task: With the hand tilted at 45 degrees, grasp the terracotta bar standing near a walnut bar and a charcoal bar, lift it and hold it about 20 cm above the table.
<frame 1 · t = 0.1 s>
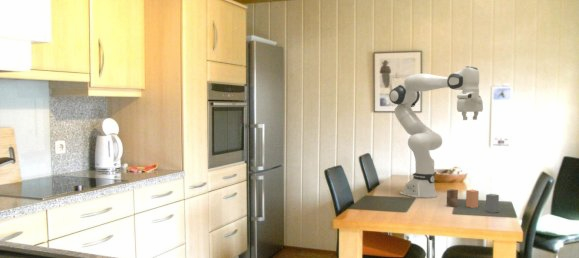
hand: (470, 119, 287), 48 cm above the table, tool pointing down, fingers open, 8 cm apart
walnut bar: (452, 206, 283), on the table
terracotta bar: (472, 206, 281), on the table
charcoal bar: (492, 211, 269), on the table
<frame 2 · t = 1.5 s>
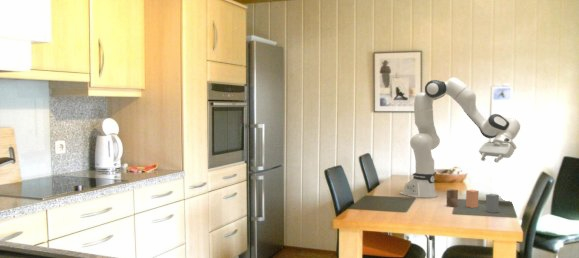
hand: (488, 160, 285), 25 cm above the table, tool tilted 45°, fingers open, 8 cm apart
nothing on the table moved.
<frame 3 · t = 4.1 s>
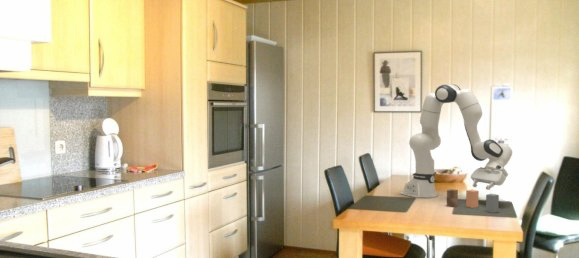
hand: (480, 187, 283), 10 cm above the table, tool tilted 45°, fingers open, 8 cm apart
nothing on the table moved.
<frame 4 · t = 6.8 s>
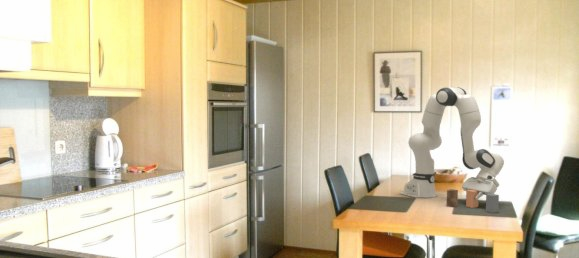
hand: (471, 198, 280), 5 cm above the table, tool tilted 45°, fingers closed on terracotta bar, 4 cm apart
terracotta bar: (472, 206, 281), on the table, touching gripper
everything else where it was.
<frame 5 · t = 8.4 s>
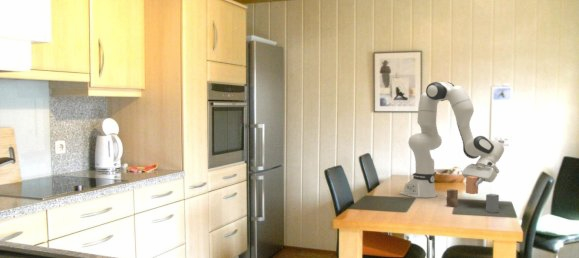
hand: (471, 184, 280), 12 cm above the table, tool tilted 45°, fingers closed on terracotta bar, 4 cm apart
terracotta bar: (471, 193, 281), point 8 cm above the table, touching gripper
everything else where it was.
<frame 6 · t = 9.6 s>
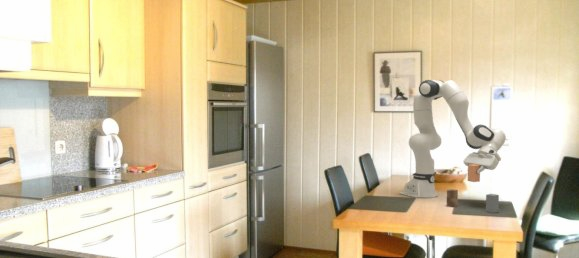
hand: (473, 172, 280), 19 cm above the table, tool tilted 45°, fingers closed on terracotta bar, 4 cm apart
terracotta bar: (473, 181, 280), point 14 cm above the table, touching gripper
everything else where it was.
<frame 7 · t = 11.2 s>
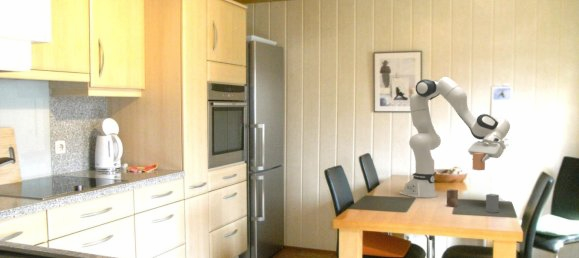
hand: (477, 160, 281), 25 cm above the table, tool tilted 45°, fingers closed on terracotta bar, 4 cm apart
terracotta bar: (478, 169, 281), point 20 cm above the table, touching gripper
everything else where it was.
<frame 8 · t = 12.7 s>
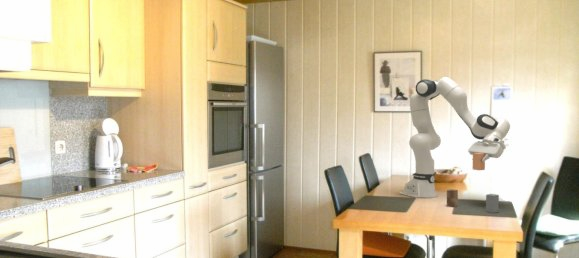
hand: (477, 160, 281), 25 cm above the table, tool tilted 45°, fingers closed on terracotta bar, 4 cm apart
terracotta bar: (478, 169, 281), point 20 cm above the table, touching gripper
everything else where it was.
at the end: terracotta bar point 20.4 cm above the table; walnut bar moved 0.0 cm from its start; charcoal bar moved 0.0 cm from its start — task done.
